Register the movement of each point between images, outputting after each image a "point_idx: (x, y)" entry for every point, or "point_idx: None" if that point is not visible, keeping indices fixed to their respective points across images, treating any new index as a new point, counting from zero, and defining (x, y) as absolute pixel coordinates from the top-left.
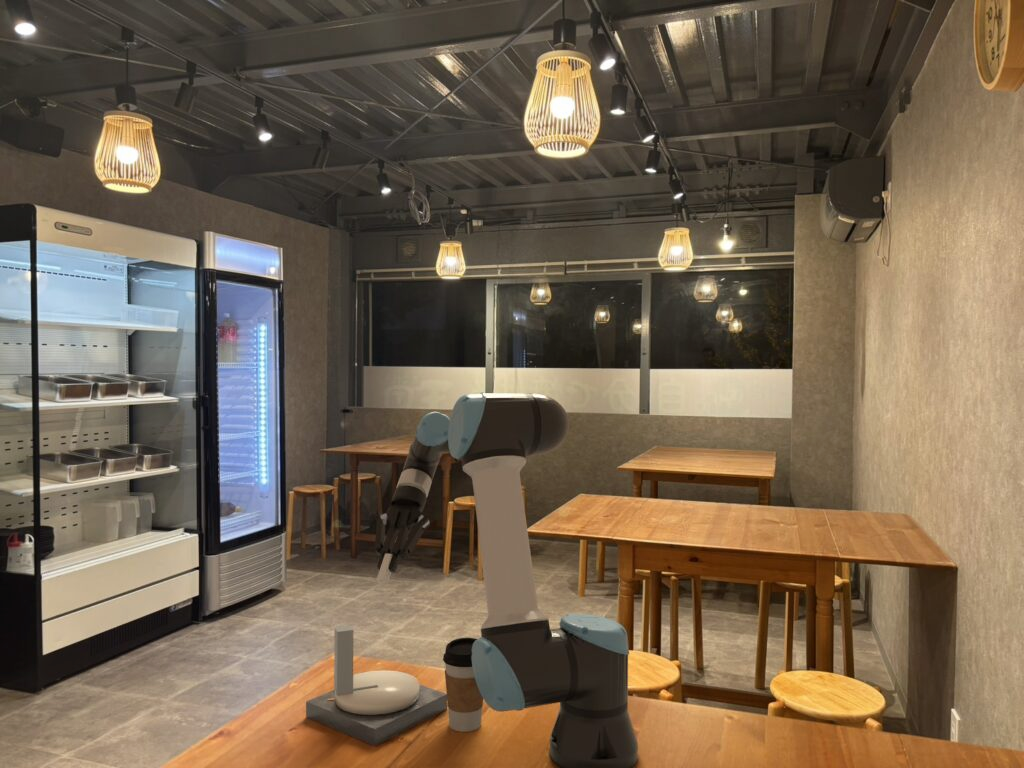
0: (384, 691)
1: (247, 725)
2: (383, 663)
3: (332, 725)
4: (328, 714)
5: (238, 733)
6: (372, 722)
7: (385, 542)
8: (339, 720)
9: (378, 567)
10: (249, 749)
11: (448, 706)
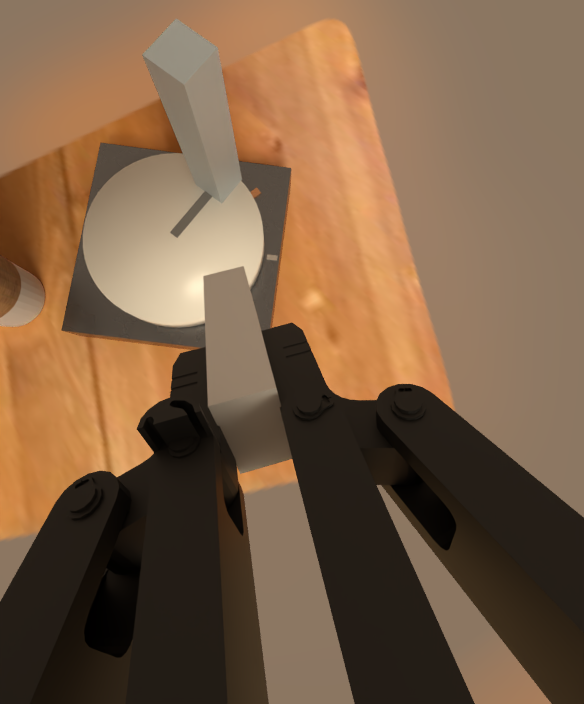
0: (143, 221)
1: (351, 121)
2: None
3: None
4: None
5: (341, 96)
6: (120, 160)
7: (366, 504)
8: None
9: (286, 324)
10: (283, 69)
11: (8, 260)
